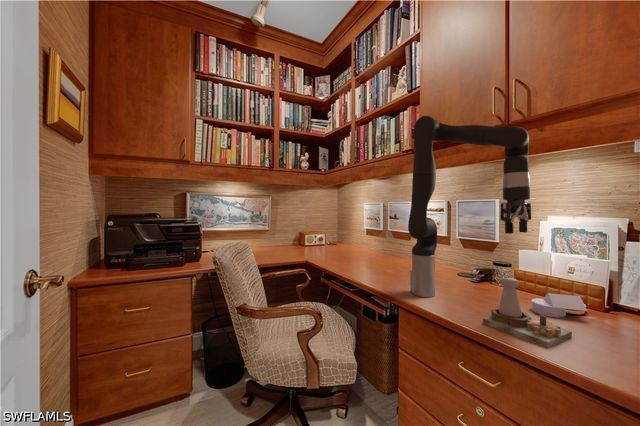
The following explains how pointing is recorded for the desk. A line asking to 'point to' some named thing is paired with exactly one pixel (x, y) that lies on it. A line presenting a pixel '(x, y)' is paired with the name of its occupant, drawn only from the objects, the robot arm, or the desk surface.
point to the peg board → (529, 328)
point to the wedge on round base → (557, 304)
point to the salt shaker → (510, 299)
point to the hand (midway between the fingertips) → (516, 232)
